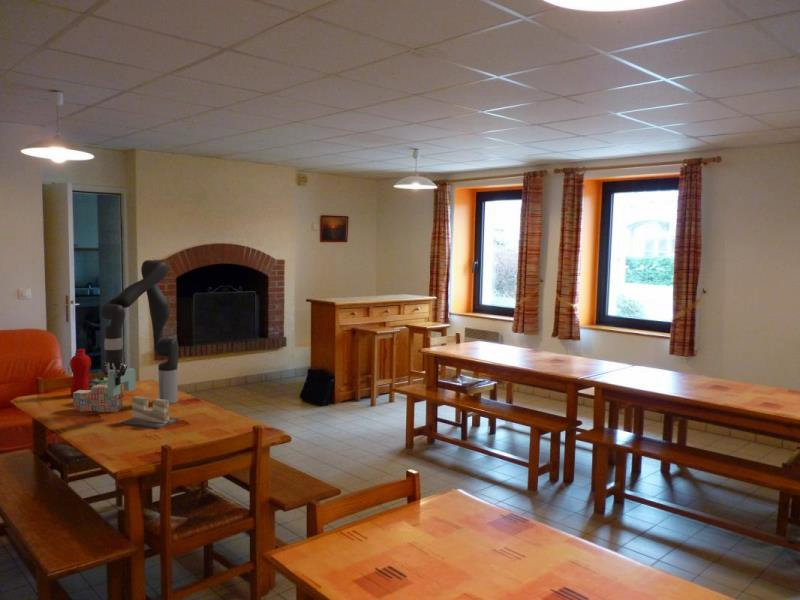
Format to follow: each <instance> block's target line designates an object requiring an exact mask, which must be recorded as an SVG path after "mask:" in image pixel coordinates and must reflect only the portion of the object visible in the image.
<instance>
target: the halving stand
mask: <svg viewBox="0 0 800 600" xmlns="http://www.w3.org/2000/svg"><path fill="white" fill-rule="evenodd" d="M131 403H132V406H131V407H132V417H131V418H129V419H127V420H123V421H121V424H122V425H126V424H127V425H128V426H133V425H135V427H140V426H143V428H148V427H149V428H148V429H155V428H156V430H160V429H161V427H162V428H164V427H166V425H167V426H169V425H172V424H174V423H177V422H179V421H180V418H177V417H170V404H169V400H164V399H159V398H155V399H152V408H149V397H145V396H140V395H139V396H138V395H137V396H133V397H131ZM176 421H177V422H176ZM171 423H172V424H171ZM163 426H164V427H163Z"/></svg>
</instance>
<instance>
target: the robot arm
mask: <svg viewBox="0 0 800 600" xmlns="http://www.w3.org/2000/svg"><path fill="white" fill-rule="evenodd" d="M140 270H141V276H142V277H141V278H142V279H140V280H139V281H136V282H134V283H132V284H130V285H129V286H127V287H125V288H124V289H123V290H122V291H121V292H120V293H119V294H118V296H116V297H113V298H112V299H110V300H108V301H106V303H104V305H102V307H101V308H100V316H101V317H102V318H103V319H105V320H110V324H108V325H105V327H104V358H105V361H103V362H101V363H100V366H101V368H102V371H103V374H104V375H105V376H107V377H108V374H110V373H115V377H116V378H115V385H117V386H118V385H120V384H122V383H121V376H124V375H125V372H126V369H128V364H127V363H126V364H125V363H124V362H123V360H122V359H123V357H124V354H123V353H124V351H123V350H124V347H123V345H124V344H123V334H122V333H123V332H122V331H123V330H122V329H123V325H124V322H125V318H126V312H125V309H127V308H129V307H130V306H132V305H133V304H134V303H135V302H136V300H138V299H139V298H140V297H141V296H142V295H143V294H145V293H146V295H147V301H148V311H149V316H150V319H151V320H150V321H151V325H152V335H153V346H154V353H155V355H156V356H158V357H168V359H167V360H166V361H164V362H161V363H159V364H158V367H157V371H158V399H164V400H169V405H171V404H176V403H178V401H179V400H178V399H179V397H178V396H179V389H178V386H179V385H178V383H179V382H178V380H179V379H178V364H179V342H178V339H176V338H164V334H163V330H164V328H165V326H166V324H167V322H168V321H169V319H170V315H171V312H170V304H169V302H168V299H167V298H166V296H165V295H164V293H163V292H162V290H161V289H160V286H159V285H158V283H160V282H161V281H163V280H164V279H165V278H166V277H167V275H168V272H169V268H168V265H167V264H166V263H165V262H163V261H159V260H153V259H152V260H151V259H150V260H149V259H147V260H144V261H143V262H142V264H141V268H140Z"/></svg>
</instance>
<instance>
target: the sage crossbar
mask: <svg viewBox="0 0 800 600" xmlns="http://www.w3.org/2000/svg"><path fill="white" fill-rule="evenodd" d="M107 378H108V396H116V395H119V394H121V384H123V392H132V391H134V390H137V385H136V384H137V383H136V368H131V367H130V368H127V369H126V372H125V375H124V376H121V383H120V385H118V386H117V385H115V378H116V377H115V373H110V374H108V376H107Z"/></svg>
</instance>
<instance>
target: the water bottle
mask: <svg viewBox="0 0 800 600" xmlns="http://www.w3.org/2000/svg"><path fill="white" fill-rule="evenodd" d="M68 365H69V366H68V368H67V370H68V371H67V372H68V373H70V374H72V381H71V386H70V395H71V397H73V393H74V392H76V391H78V390H89V382H88V381H89V380H91V378H90V371H91V366H92V361H91V357H90V356H88V355H87V354H86V349H84V348H79V349H75V352H74V355H73V356H72V357H71V359H70V361H69V363H68ZM69 368H70V370H71V372H70V370H69Z"/></svg>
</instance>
